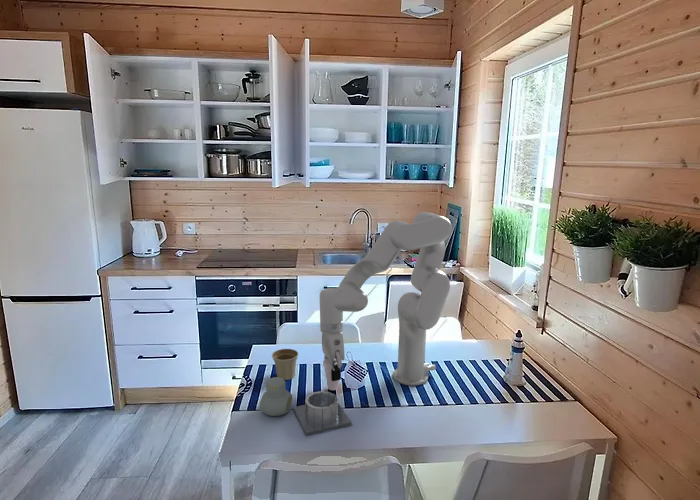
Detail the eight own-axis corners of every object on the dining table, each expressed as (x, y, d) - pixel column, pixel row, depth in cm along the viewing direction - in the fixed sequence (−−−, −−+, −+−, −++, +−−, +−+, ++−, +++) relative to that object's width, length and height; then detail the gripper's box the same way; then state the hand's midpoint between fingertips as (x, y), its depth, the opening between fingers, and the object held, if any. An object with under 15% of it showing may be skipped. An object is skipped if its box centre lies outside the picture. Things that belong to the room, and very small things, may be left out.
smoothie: (345, 384, 150) (344, 347, 147) (337, 394, 145) (336, 355, 142) (329, 381, 153) (328, 344, 150) (320, 389, 147) (319, 351, 144)
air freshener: (284, 422, 131) (283, 391, 129) (257, 419, 132) (256, 389, 130) (293, 402, 141) (293, 374, 139) (269, 400, 143) (268, 371, 140)
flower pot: (267, 379, 156) (266, 357, 154) (281, 368, 164) (280, 346, 162) (290, 385, 152) (290, 362, 150) (303, 372, 161) (303, 351, 159)
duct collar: (335, 401, 142) (335, 384, 141) (351, 425, 130) (351, 407, 128) (293, 410, 137) (293, 392, 136) (306, 436, 124) (305, 417, 123)
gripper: (352, 333, 138) (352, 385, 142) (333, 315, 153) (334, 362, 157) (329, 337, 135) (330, 390, 139) (312, 318, 151) (314, 366, 154)
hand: (332, 375), depth 148 cm, fingers closed on smoothie, 6 cm apart
